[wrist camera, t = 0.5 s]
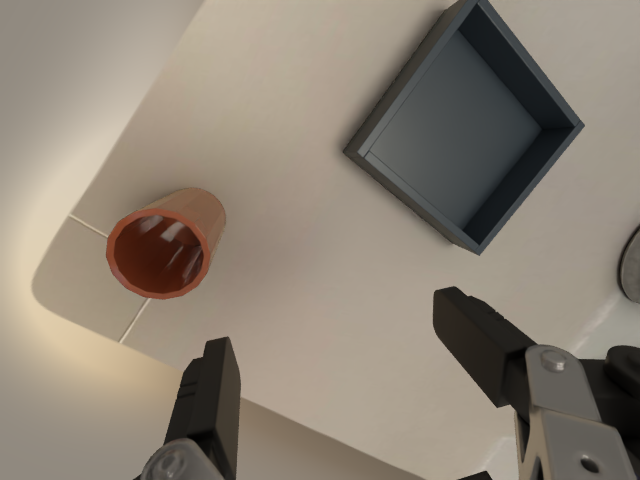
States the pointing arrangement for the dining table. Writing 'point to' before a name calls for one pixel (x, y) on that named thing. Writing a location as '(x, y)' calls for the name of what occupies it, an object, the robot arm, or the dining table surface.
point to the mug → (631, 269)
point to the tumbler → (167, 244)
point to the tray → (466, 127)
